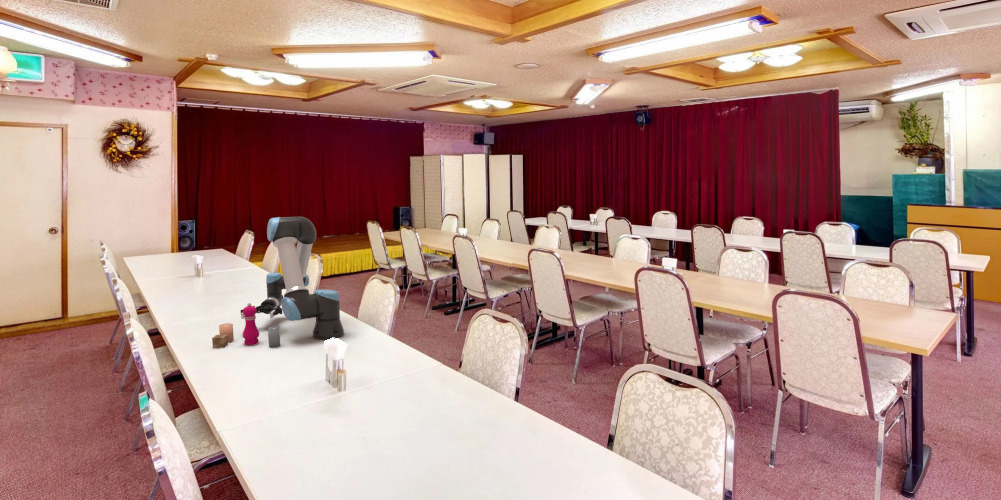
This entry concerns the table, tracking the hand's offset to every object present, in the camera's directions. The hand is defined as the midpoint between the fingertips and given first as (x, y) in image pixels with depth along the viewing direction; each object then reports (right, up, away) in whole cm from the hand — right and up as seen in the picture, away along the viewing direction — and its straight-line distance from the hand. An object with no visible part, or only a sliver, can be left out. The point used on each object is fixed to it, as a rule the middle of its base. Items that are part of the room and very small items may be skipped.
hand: (256, 316), depth 265 cm
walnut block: (-11, -13, -12) cm, 21 cm away
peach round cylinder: (-12, -12, -4) cm, 18 cm away
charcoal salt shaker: (+14, -13, -11) cm, 22 cm away
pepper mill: (+1, -12, -8) cm, 15 cm away
